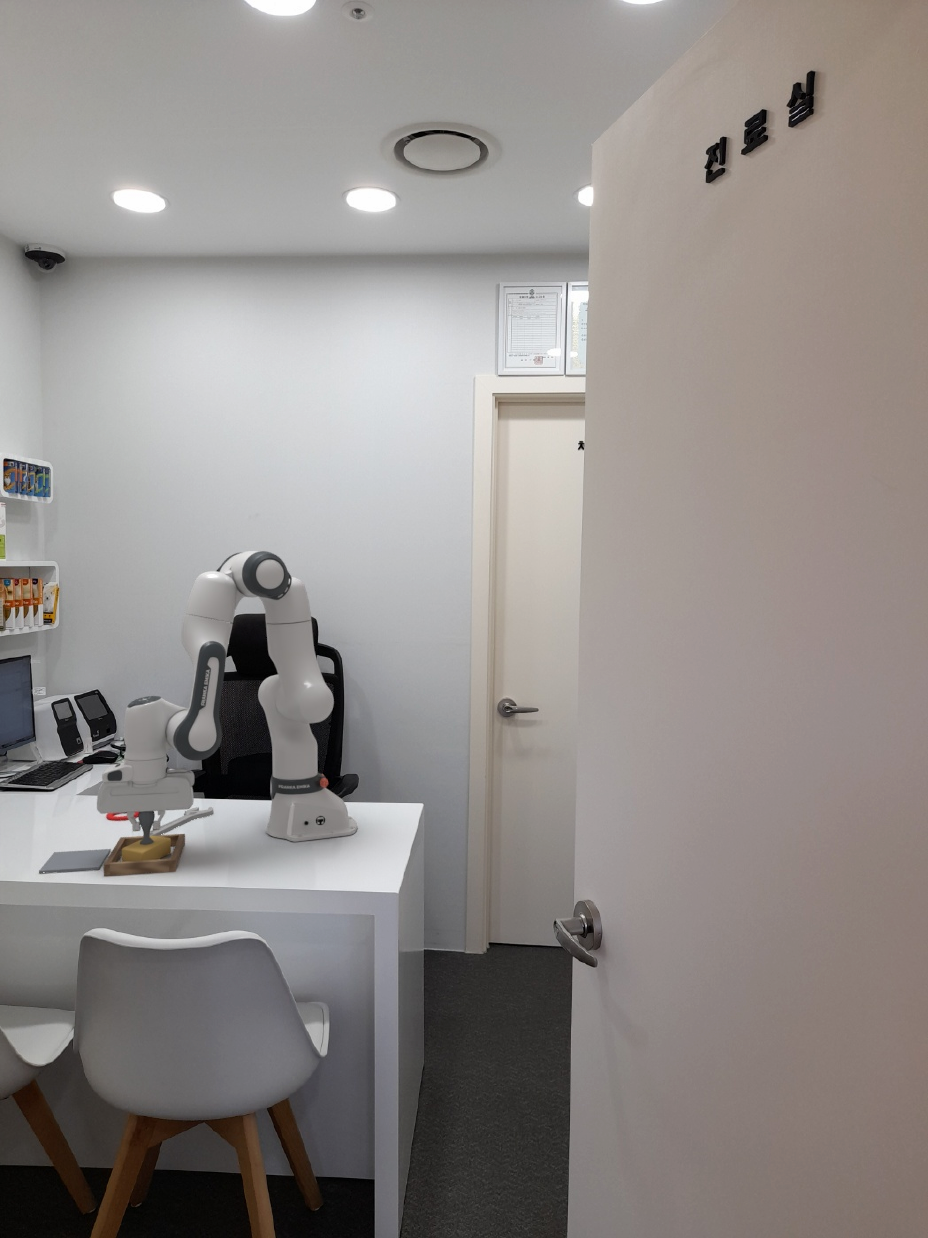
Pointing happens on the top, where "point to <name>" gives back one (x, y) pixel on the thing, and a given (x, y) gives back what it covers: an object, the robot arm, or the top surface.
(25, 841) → the top surface
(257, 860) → the top surface
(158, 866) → the wooden frame
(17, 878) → the top surface
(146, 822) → the rubber stamp
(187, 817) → the adjustable wrench
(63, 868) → the slate mat
